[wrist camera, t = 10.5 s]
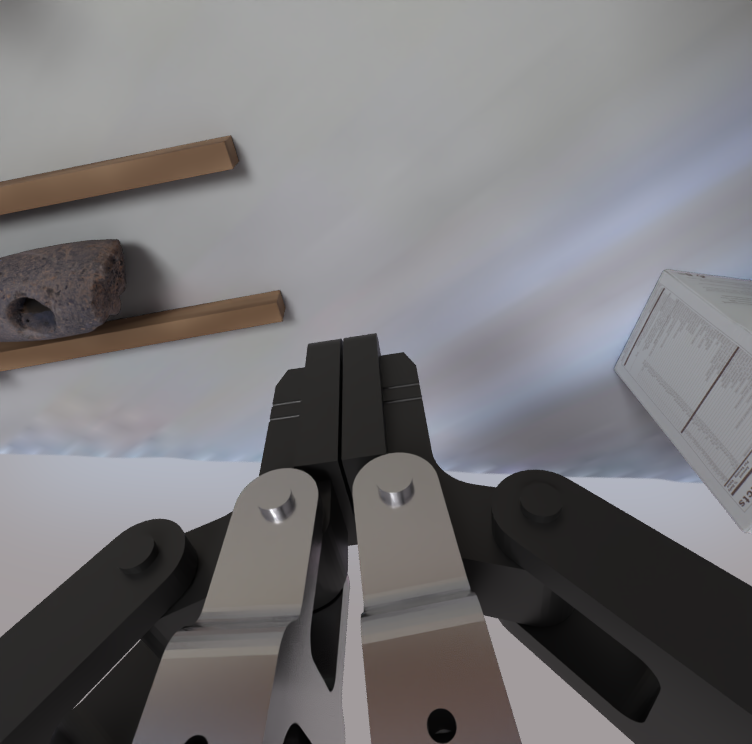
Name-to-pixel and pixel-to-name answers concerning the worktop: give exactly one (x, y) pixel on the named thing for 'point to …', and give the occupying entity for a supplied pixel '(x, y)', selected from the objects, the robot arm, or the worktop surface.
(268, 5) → the worktop surface
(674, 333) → the supplement box
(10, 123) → the worktop surface
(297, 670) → the robot arm
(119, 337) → the channel
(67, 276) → the perforated stone tool
